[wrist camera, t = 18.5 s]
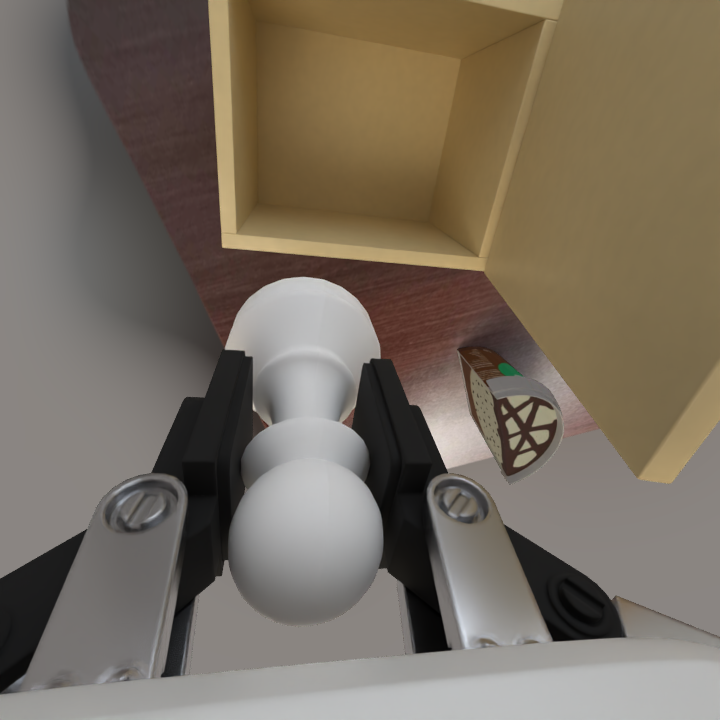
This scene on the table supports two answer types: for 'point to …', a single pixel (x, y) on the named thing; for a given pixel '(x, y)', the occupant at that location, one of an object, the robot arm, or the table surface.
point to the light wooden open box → (373, 123)
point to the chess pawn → (305, 456)
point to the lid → (624, 223)
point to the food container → (510, 413)
